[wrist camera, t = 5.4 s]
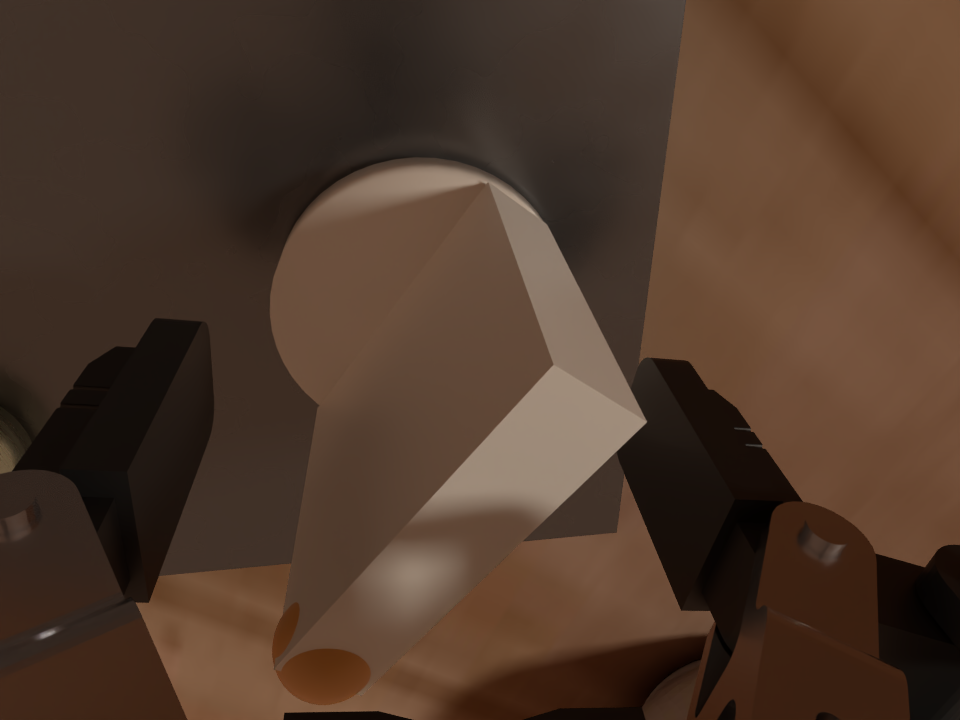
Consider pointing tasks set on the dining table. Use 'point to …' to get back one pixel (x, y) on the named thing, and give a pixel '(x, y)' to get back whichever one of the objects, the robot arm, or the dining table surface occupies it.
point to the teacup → (672, 695)
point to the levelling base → (298, 195)
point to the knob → (427, 406)
